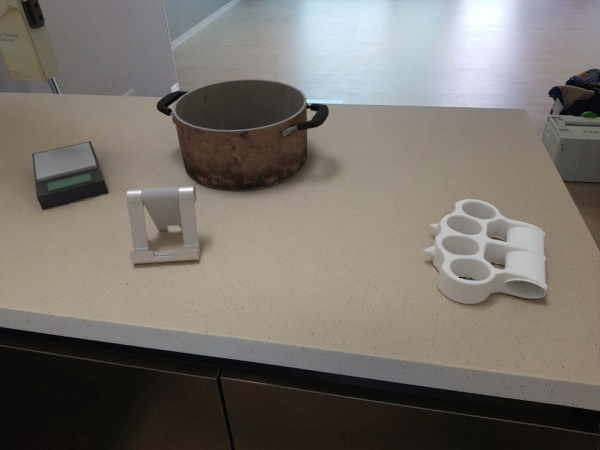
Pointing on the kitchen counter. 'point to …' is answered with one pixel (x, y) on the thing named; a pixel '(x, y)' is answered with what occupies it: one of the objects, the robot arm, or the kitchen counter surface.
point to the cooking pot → (242, 131)
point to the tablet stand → (163, 221)
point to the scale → (67, 175)
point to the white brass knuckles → (487, 254)
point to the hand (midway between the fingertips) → (19, 26)
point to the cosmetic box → (25, 45)
